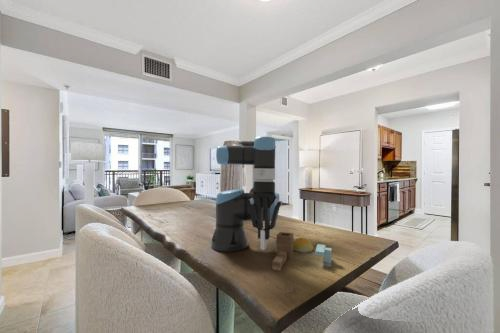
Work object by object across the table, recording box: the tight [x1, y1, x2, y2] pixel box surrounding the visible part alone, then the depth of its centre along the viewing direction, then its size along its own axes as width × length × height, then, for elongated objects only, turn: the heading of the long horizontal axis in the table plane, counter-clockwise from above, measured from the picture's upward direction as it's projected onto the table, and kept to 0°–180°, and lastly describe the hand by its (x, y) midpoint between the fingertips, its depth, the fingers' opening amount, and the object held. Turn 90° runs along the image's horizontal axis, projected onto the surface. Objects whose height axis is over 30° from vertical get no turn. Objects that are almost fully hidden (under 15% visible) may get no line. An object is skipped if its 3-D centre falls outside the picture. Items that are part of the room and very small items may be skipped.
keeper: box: [314, 243, 332, 268], centre depth 79 cm, size 5×8×5 cm, turn 159°
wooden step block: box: [271, 231, 294, 271], centre depth 79 cm, size 15×5×8 cm, turn 159°
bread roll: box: [293, 237, 314, 253], centre depth 92 cm, size 8×9×4 cm
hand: (263, 248), depth 79 cm, fingers closed
